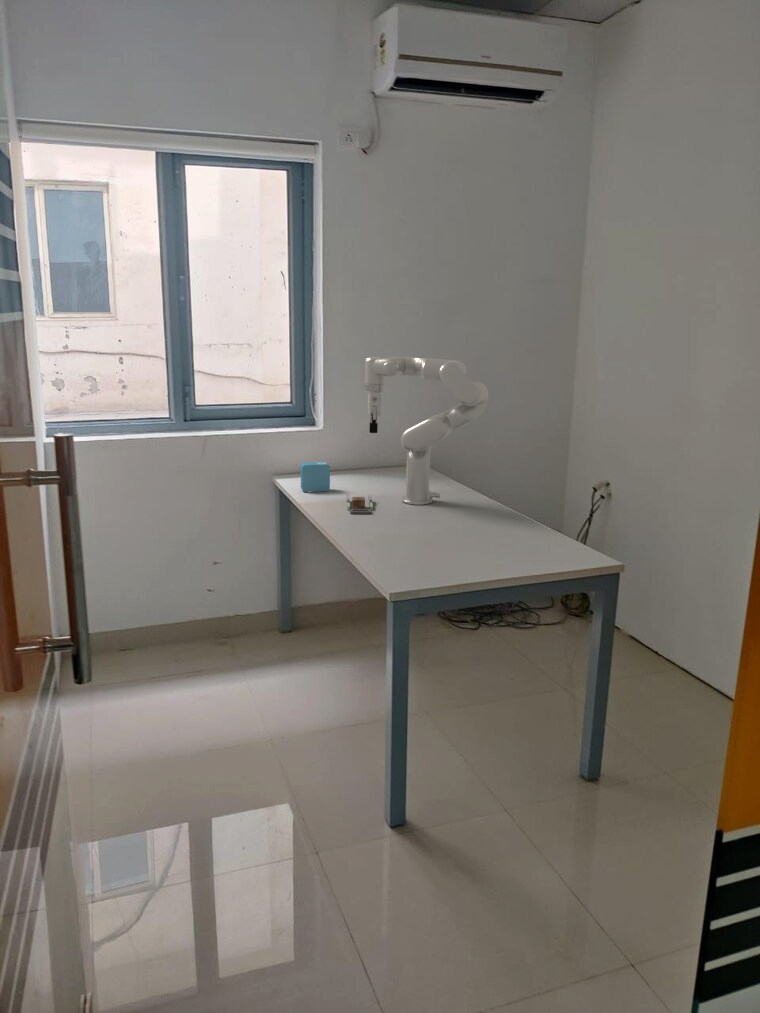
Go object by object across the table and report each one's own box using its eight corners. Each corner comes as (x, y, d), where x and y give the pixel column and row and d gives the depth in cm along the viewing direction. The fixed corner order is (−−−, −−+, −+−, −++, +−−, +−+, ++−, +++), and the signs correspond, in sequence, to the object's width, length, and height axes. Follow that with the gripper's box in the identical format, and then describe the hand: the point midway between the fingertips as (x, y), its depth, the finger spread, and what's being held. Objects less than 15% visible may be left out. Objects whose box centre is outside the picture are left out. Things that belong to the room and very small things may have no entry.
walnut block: (364, 506, 312) (364, 497, 311) (364, 510, 307) (365, 500, 306) (351, 506, 312) (352, 497, 311) (352, 510, 307) (352, 500, 306)
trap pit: (370, 511, 305) (370, 509, 304) (371, 514, 301) (371, 511, 300) (350, 511, 304) (350, 509, 304) (350, 514, 300) (350, 511, 300)
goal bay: (372, 506, 312) (372, 502, 312) (372, 510, 307) (373, 506, 306) (347, 506, 312) (347, 502, 311) (347, 510, 306) (347, 506, 306)
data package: (328, 488, 339) (328, 461, 336) (329, 491, 335) (330, 464, 332) (300, 490, 337) (300, 462, 333) (302, 492, 332) (302, 464, 329)
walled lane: (370, 501, 320) (371, 495, 319) (371, 505, 313) (372, 499, 313) (346, 501, 319) (346, 495, 319) (347, 505, 313) (347, 499, 312)
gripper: (384, 390, 309) (383, 435, 314) (382, 386, 324) (381, 429, 328) (365, 389, 309) (365, 435, 313) (364, 385, 323) (363, 429, 328)
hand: (373, 432), depth 321 cm, fingers closed
